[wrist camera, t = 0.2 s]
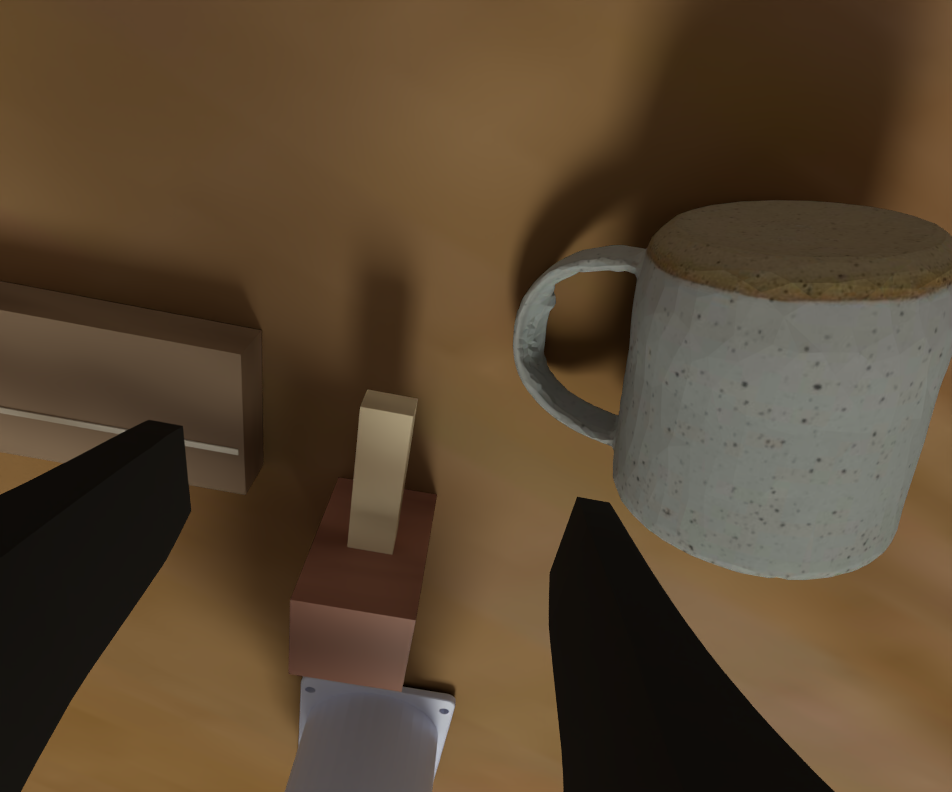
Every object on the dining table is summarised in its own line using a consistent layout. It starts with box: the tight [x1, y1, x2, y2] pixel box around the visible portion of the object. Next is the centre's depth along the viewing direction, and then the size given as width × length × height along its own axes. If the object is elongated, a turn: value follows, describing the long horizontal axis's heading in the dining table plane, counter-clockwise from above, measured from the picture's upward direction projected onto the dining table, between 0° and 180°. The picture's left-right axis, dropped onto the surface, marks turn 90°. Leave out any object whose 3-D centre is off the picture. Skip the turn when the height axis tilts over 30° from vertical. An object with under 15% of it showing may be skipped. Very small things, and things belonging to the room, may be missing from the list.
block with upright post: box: [289, 389, 437, 692], centre depth 21 cm, size 10×4×6 cm, turn 170°
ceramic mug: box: [513, 200, 952, 580], centre depth 16 cm, size 11×8×8 cm
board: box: [0, 281, 263, 495], centre depth 21 cm, size 6×14×2 cm, turn 80°
